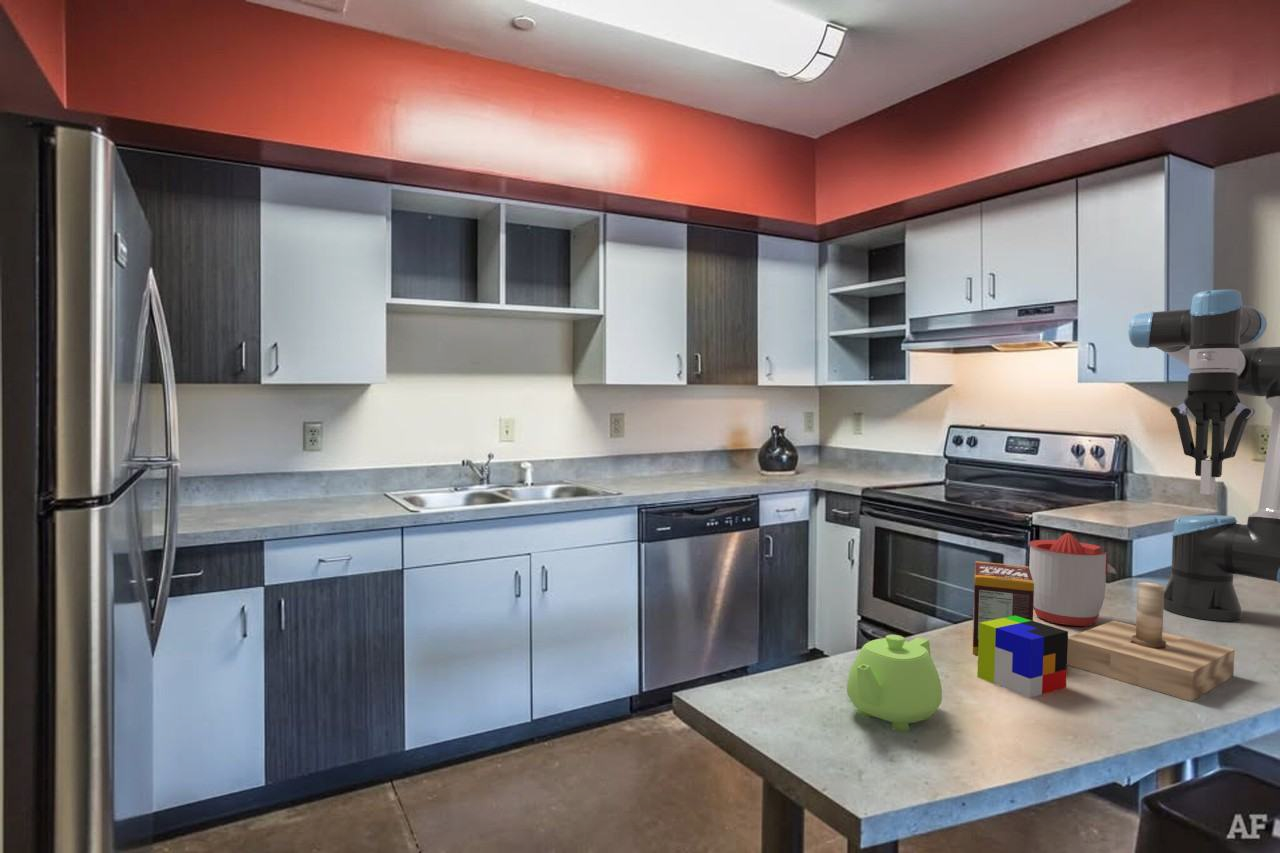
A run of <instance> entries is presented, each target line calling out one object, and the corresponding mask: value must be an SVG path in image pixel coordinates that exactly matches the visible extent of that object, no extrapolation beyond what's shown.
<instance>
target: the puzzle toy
mask: <svg viewBox="0 0 1280 853" xmlns="http://www.w3.org/2000/svg"><path fill="white" fill-rule="evenodd" d="M1068 637H1069V631H1068V630H1065V629H1061V628H1058V627H1054V626H1052V625H1049V624H1044V623H1042V622H1038V621H1035V620H1033V621H1032V620H1028V619H1025V618H1022V617H1018V616H1010V617H1005V618H1000V619H995V620H990V621H985V622H980V623H979V643H978V655H977V675H976V676H977V678H978V679H982V680H984V681H986V682H989V683H991V684H994V685H997V686H999V687H1000V688H1004V689H1006V690H1009V691H1011V692H1014V693H1017V694H1018V695H1021V696H1024V697H1027V698H1030V699H1031V698H1034V697H1038V696H1042V695H1044V694H1047V693H1048V694H1049V693H1051V692H1055V691H1058V690H1061V689H1066V688H1067V676H1068V675H1067V674H1068V673H1067V671H1068V665H1067V649H1068Z"/></svg>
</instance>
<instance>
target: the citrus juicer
mask: <svg viewBox="0 0 1280 853" xmlns="http://www.w3.org/2000/svg"><path fill="white" fill-rule="evenodd" d="M1028 545H1029V564H1028V565H1029V566H1028V567H1029V569H1030V573H1031V576H1032V579H1033V582H1034V605H1033V611H1034V612H1035V614H1036V617H1038V618H1040V619H1042V620H1044V621H1046V622H1047V621H1048V622H1047V623H1049V622H1051V623H1050V624H1060V625H1065V626H1074V627H1075V626H1077V627H1078V626H1079V627H1083V628H1084V627H1085V628H1086V627H1089V626H1093V625H1095V623H1096V621H1097V619H1098V618H1099V616H1100V612H1101V609H1102V607H1103V605H1104V602H1105V601H1104V600H1105V596H1106V595H1105V594H1106V588H1107V587H1106V583H1107V582H1106V580H1107V575H1108V573H1110V574H1113V575H1117V571H1116V569H1115V568H1114V567H1113V566H1111V565H1110V564H1109V563H1108V562H1109V560H1108V559H1109V552H1108V551H1106V552H1102V546H1099V545H1096V544H1090V543H1085V542H1080V541H1079V540H1078V539H1077V538H1075V536H1073V535H1072V533H1069V532H1067V533H1064V534H1063V535H1061V536H1060V537H1059V538H1058V539H1035V540H1030V541H1029V542H1028Z"/></svg>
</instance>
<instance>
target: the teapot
mask: <svg viewBox="0 0 1280 853" xmlns="http://www.w3.org/2000/svg"><path fill="white" fill-rule="evenodd" d="M931 653H932V652H931V647H930V639H926V638H924V637H920V636H917V637H915V638H914V639H911V640H910V641H907V640H906V638H905V637H903V636H902V635H897V634H888V635H885V637H883V638H877V639H873V640H870V641H868V642H866V643H865V644H864V645H862V647H861V648H860V650H859V652H858V654H857V656H856V657H855V659H854V662H853V663H852V666H851V668H850V671H849V673H848V674H849V675H848V677H847V678H848V679H847V683H846V693H847V696H848V698H849V699H850V701H851V703H852V704H853V705H854V707H855V708H856V709H857V710H858V711H857V712H856V715H858V716H859V717H861V718H867V719H869V718H873V717H876V718H878V719H880V720H884V721H887V722H890V723H891V724H892V725H891V727H892V729H893V730H895V731H897V732H901V733H906V732H909V731H911V728H910V726H909V724H912V723H913V724H914V723H917V722H918V723H919V722H922V721H930V719H931V716H932V715H933V714H934V713H935V712H936V711H937V710H938V708H939V707H940V705H941V704H942V700H943V691H942V683H941V679H940V675H939V673H938V669H937V667H936V665H935V662H934V661H933V659H932V654H931Z"/></svg>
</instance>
